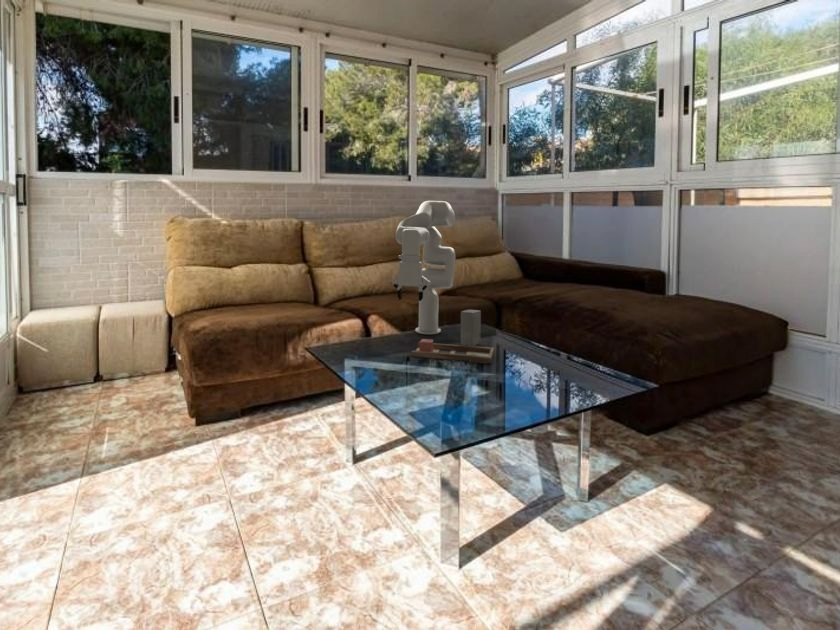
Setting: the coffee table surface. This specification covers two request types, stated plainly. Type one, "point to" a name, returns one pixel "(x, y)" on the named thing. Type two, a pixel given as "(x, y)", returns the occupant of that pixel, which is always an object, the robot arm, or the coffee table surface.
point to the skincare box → (470, 327)
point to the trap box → (457, 353)
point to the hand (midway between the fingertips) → (410, 299)
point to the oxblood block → (426, 345)
